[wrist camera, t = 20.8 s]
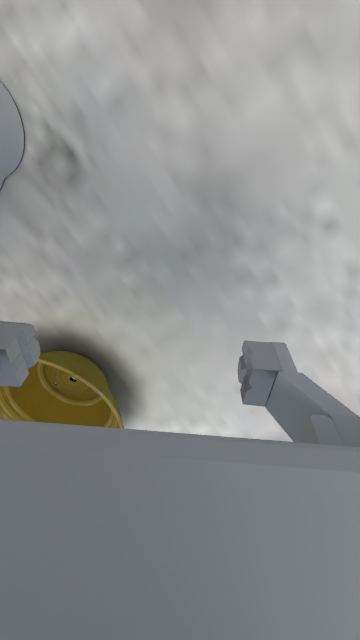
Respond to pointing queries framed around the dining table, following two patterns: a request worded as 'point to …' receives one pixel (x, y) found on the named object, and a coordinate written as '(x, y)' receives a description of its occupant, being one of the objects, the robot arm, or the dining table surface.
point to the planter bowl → (62, 393)
